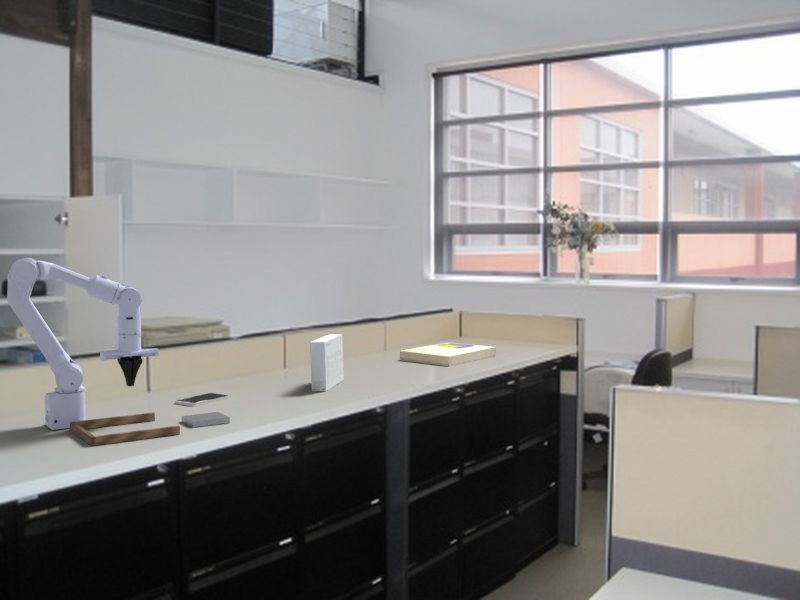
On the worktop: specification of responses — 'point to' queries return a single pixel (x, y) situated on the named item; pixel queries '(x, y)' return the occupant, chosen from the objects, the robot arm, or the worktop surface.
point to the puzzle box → (447, 354)
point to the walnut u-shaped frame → (92, 440)
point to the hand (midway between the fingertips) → (130, 385)
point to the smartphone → (201, 399)
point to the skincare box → (326, 362)
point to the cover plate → (205, 419)
